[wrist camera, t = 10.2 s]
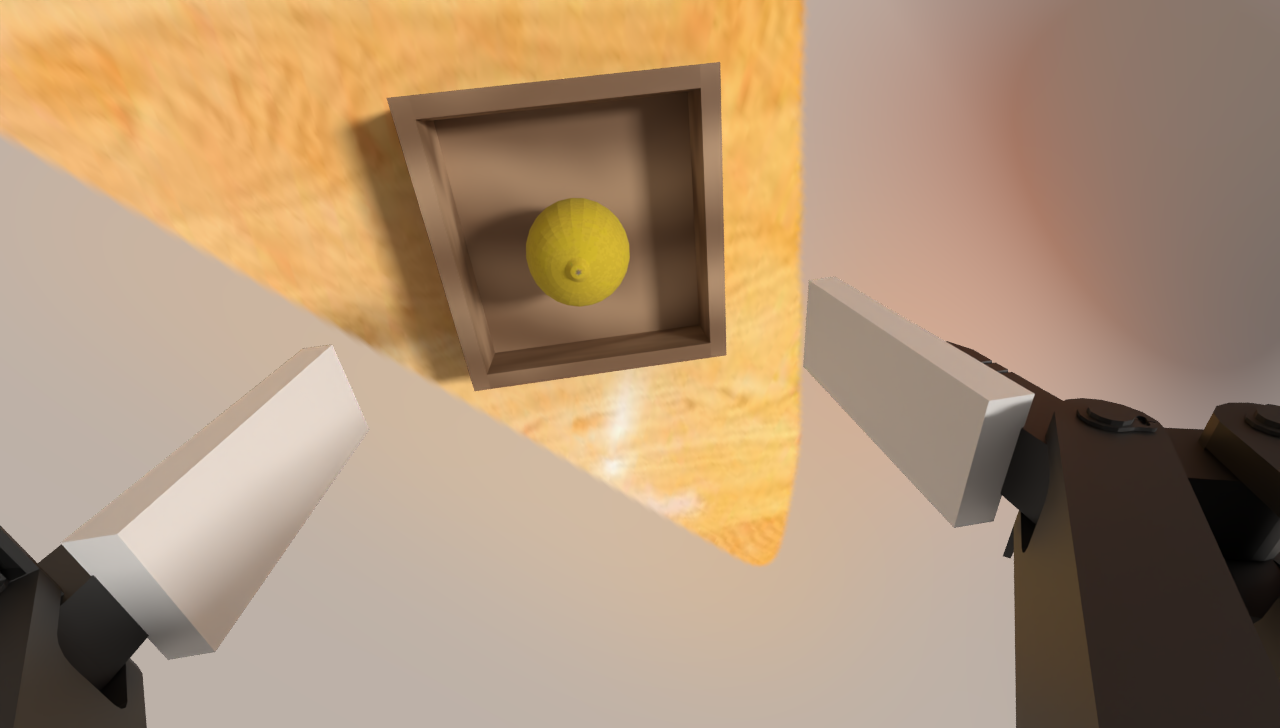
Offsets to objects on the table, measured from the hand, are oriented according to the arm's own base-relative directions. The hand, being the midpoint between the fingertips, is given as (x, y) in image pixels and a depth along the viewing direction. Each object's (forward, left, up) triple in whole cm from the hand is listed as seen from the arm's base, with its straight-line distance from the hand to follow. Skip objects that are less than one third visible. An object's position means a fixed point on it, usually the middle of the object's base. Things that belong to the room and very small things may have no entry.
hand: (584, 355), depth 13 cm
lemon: (0, 0, -18) cm, 18 cm away
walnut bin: (0, 0, -19) cm, 19 cm away
